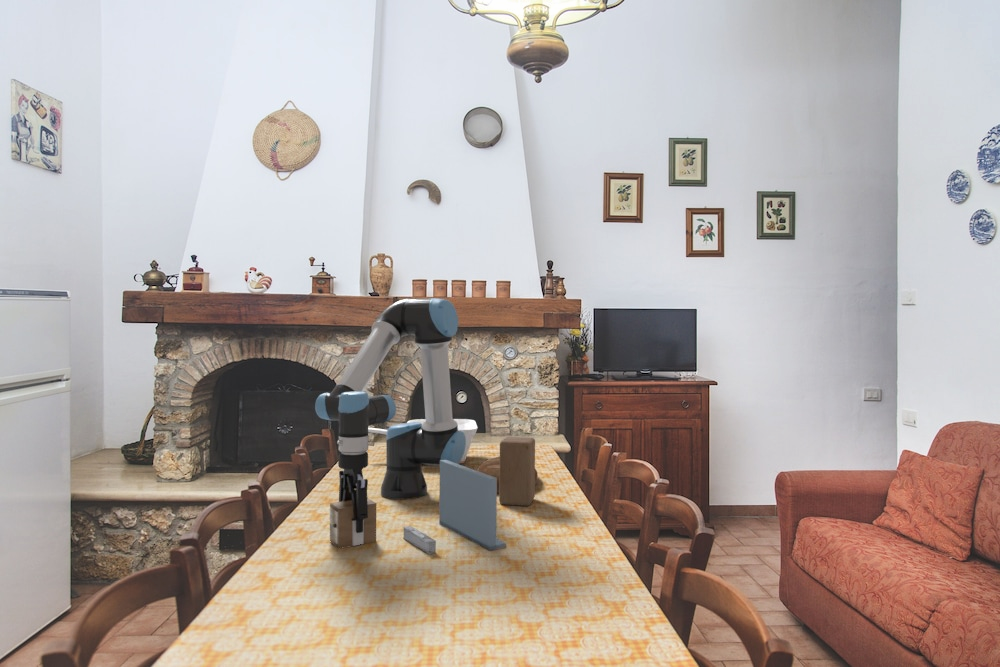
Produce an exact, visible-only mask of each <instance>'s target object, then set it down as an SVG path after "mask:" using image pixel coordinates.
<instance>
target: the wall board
mask: <svg viewBox="0 0 1000 667" xmlns="http://www.w3.org/2000/svg"><path fill="white" fill-rule="evenodd" d="M497 495H498V494H497V478H495V477H492V476H490V475H487V474H484V473H481V472H479V471H477V469H476V470H475V469H473V468H470V467H468V466H464V465H463V464H457V463H454V462H451V461H448V460H440V466H439V498H438V499H439V506H438V507H439V508H438V509H439V511H438V512H439V513H438V515H439V518H438V521H439V522H438V523H439V525H440V526H443V527H445V528H446V529H448V530H450V531H452V532H454V533H455V534H458V535H459V536H462V537H464V539H467V540H469V541H471V542H473V543H475V544H477V545H478V546H480V547H482V548H484V549H486V550H487V551H494V550H499V549H503V548H506V547H507V543H506V542H505V541H502V540H501V539H499V538H497V515H498V514H497V510H498V508H497V502H498V501H497V500H498V498H497Z"/></svg>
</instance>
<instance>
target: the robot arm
mask: <svg viewBox="0 0 1000 667" xmlns="http://www.w3.org/2000/svg"><path fill="white" fill-rule="evenodd" d="M458 327H459V316H458V312H457V309H456V308H455V305H454V304H453V303H452V302H451V301H450V300H448V299H445V298H436V297H434V298H433V297H431V298H429V297H428V298H404V299H400V300H398V301H395V302H394V303H393V304H391V305H390V306H388V307H387V308H385V309H384V310H383V311H382V312H381V313H380V314H379V315H378V317H377V318H376V319H375V321H374V322H373V324H372V325H371V332H370V334H369V335H368V337H367V338H366V340H365V341H364V343H363V344H362V346H361V347H360V348H359V350H358V352H357V353H356V354H355V356H354V358H353V359H352V361H351V362H350V364H349V365H348V367H347V368H346V370H345V371H344V373H343V374H342V376H341V378H340V379H339V381H337V384H335V387H334V388H333V389H332V391H331V392H324V393H321V394H319V395H318V397H317V398H316V399H315V405H314V410H315V413H316V415H317V416H318V418H320V419H322V420H327V421H332V422H335V421H336V422H338V440H337V441H336V444H337V445H338V451H339V453H338V458H337V459H338V460H337V461H338V463H337V464H338V467H339V468H340V470H339V471H338V472H339V473H338V474H339V485H338V486H339V488H338V491H339V492H338V502H340V501H349V500H352V503H353V512H354V518H352V545H353V546H352V547H354V546H359V545H360V544H361V545H364V544H363V540H364V519H365V518H368V505H367V498H368V484H369V483H368V482H369V481H368V478H365V479H364V475H363V469H364V468H367V467H368V466H369V452H367V451H368V450H369V432H368V428H369V426H374V425H379V424H384V423H386V422H389V421H391V420H392V419H393V418H395V415H396V412H397V405H396V402H395V400H394V399H393V398H392V397H391V396H390V395H386V394H377V395H369V394H368V393H367V392H365V390H366V388H367V386H368V385H369V383H370V381H371V380H372V378H373V377H374V375H375V373H376V371H378V369H379V367H380V365H381V364H382V363H383V361H384V360H385V358H386V356H387V354H388V353H389V351H390V350H391V349H392V347H393V345H396V344H398V343H399V342H400V339H401V338H403V337H407V336H414V344H415V345H417V346H418V347H419V348H420V362H421V373H422V375H421V376H422V387H423V388H422V389H423V402H424V413H425V414H424V415H425V417H424V419H426V421H425V422H424V423H423V424H422V423H419V422H415V423H407V422H404V423H399V424H394V425H390V426H389V427H388V428H387V429H386V430H387V435H386V438H385V441H386V442H385V443H386V445H385V446H386V448H385V449H386V467H385V468H386V470H385V471H386V472H385V474H384V478H383V481H382V483H381V486H380V495H381V496H382V497H384V498H386V499H393V500H411V499H416V498H422V497H425V496H426V495H427V494H428V485H427V483H426V479H425V475H424V472H423V468H422V467H423V465H426V466H434V467H440V460H448V461H451V462H454V463H457V464H458V463H459V462H460V460H461V459H462V457H463V454H464V451H465V446H466V437H465V435H464V433H463V432H462V431H458V424H457V422H456V421H455V420H453V419H454V418H453V405H452V394H451V393H452V390H451V377H450V376H451V375H450V362H449V361H450V360H449V348H448V347H449V345H450V344H451V343H452V341H453V336H455V335H456V333H457V332H458V329H459V328H458ZM341 469H342V470H341Z"/></svg>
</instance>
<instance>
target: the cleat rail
mask: <svg viewBox="0 0 1000 667" xmlns="http://www.w3.org/2000/svg"><path fill="white" fill-rule="evenodd" d="M403 539H404V540H405V541H407V542H409V543H410V544H411V545H413V546H414V547H416V548H418V549H420V550H422V551H423V552H424V553H425V554H427V555H431V554H436V553H437V551H436V550H437V542H436V541H437V540H435V539H434V538H432V537H430V536H429V535H427V534H425V533H424V532H422V531H420V530H418V529H417V528H415V527H413V526H412V525H408V526H403Z"/></svg>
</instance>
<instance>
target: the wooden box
mask: <svg viewBox="0 0 1000 667" xmlns="http://www.w3.org/2000/svg"><path fill="white" fill-rule="evenodd" d="M367 505H368V518H365V519H364V540H363V544H362V545H364V543H366V544H370V543H375V542H377V503H376V501H374V500H371V499H370V498H368V497H367ZM352 518H354V512H353V503H352V500H349V501H340V502H339V501H335V502H330V503H329V542H330V541H331V542H332V543H331V542H330V543H331V544H333V543H334V544H335V545H336V546H337V547H336V546H335V545H334V544H333V545H334V546H335V547H336V548H337V549H339V548H340V549H343V548H342V547H345V548H349V547H348V546H350V547H354V546H353V545H352Z"/></svg>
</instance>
